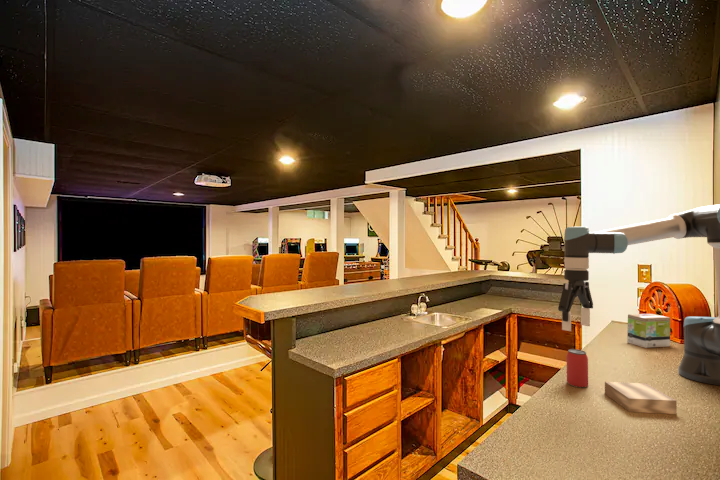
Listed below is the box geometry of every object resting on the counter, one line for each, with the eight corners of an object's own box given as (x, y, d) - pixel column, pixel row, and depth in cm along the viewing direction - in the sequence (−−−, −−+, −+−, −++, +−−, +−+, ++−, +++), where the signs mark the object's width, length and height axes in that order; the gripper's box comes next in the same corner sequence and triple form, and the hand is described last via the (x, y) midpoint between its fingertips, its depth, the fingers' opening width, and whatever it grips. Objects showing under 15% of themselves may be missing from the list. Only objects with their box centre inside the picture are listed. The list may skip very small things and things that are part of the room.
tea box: (646, 348, 170) (646, 318, 170) (626, 342, 180) (626, 313, 180) (671, 346, 173) (670, 316, 173) (650, 341, 183) (650, 312, 183)
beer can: (591, 389, 123) (591, 354, 123) (570, 387, 124) (570, 353, 125) (583, 381, 130) (583, 349, 130) (564, 380, 131) (563, 348, 131)
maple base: (646, 395, 118) (646, 383, 118) (676, 414, 105) (676, 400, 105) (604, 393, 119) (604, 381, 119) (629, 411, 106) (629, 398, 107)
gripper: (582, 267, 137) (582, 321, 137) (547, 269, 124) (547, 330, 124) (603, 268, 131) (603, 325, 131) (569, 271, 117) (569, 334, 117)
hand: (576, 328), depth 127 cm, fingers open, 13 cm apart
